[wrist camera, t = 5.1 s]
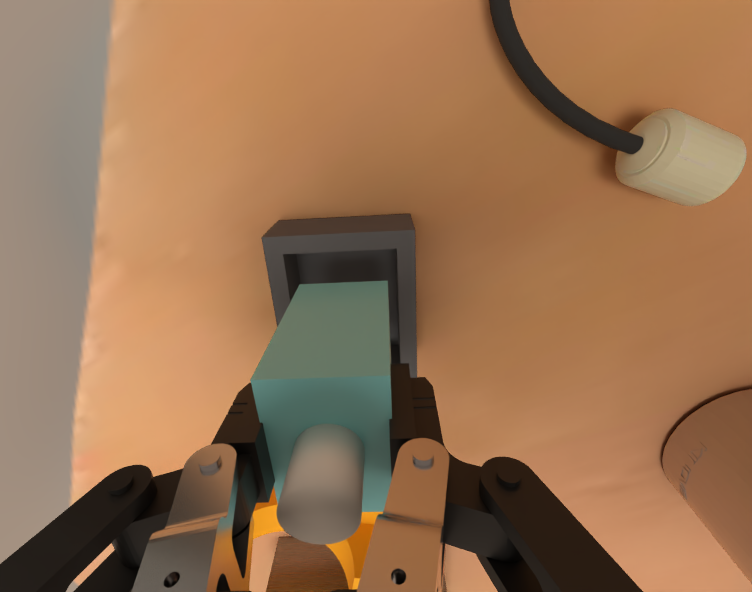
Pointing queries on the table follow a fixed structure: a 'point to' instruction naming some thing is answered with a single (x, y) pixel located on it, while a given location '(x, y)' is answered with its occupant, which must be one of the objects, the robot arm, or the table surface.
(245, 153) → the table surface
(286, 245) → the grey rectangular frame
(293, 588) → the switch housing
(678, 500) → the table surface
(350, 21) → the table surface
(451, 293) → the table surface
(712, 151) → the cable
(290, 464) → the plug
